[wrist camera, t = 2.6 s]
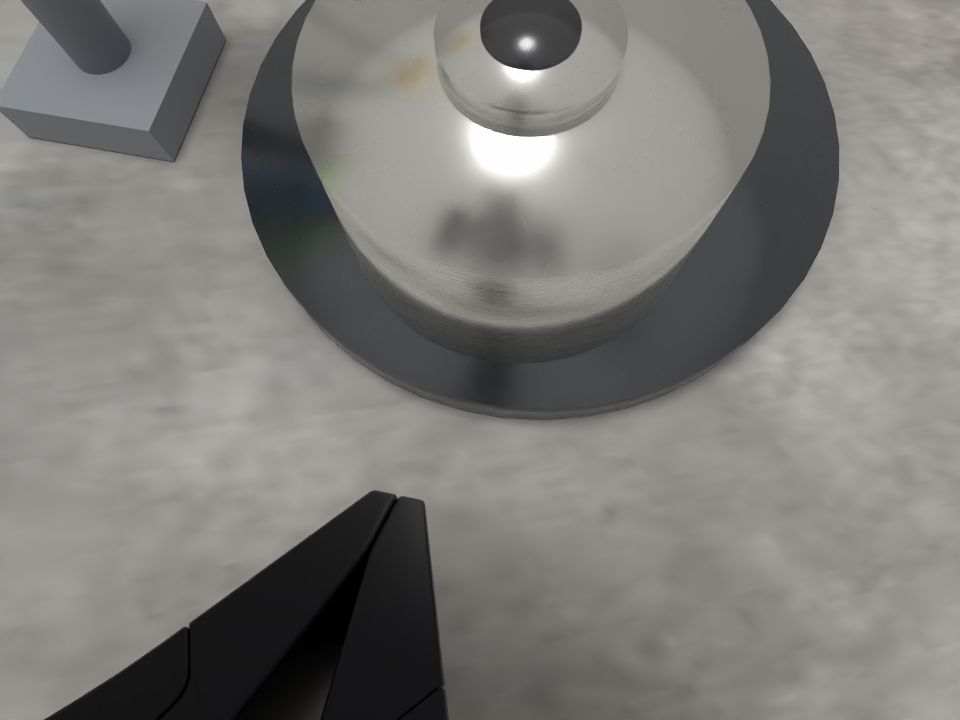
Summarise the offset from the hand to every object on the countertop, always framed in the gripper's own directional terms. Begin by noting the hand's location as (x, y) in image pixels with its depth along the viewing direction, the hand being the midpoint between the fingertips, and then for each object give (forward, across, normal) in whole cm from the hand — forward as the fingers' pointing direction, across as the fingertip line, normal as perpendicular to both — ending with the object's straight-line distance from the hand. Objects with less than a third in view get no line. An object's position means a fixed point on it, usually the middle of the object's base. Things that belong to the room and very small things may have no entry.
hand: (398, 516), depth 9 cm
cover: (+16, 0, -2) cm, 16 cm away
